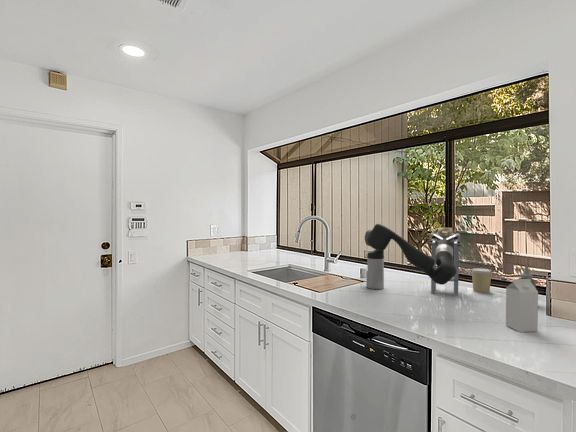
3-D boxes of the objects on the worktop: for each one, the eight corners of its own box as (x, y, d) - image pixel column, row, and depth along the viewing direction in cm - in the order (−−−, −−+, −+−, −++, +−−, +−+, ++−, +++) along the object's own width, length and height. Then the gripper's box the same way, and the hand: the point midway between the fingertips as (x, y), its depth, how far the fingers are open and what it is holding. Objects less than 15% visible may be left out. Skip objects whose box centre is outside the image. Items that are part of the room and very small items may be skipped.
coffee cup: (485, 289, 182) (486, 268, 182) (494, 293, 173) (495, 271, 173) (468, 289, 183) (468, 268, 183) (476, 293, 174) (476, 271, 174)
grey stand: (430, 293, 175) (430, 234, 174) (431, 289, 184) (431, 232, 183) (459, 296, 169) (459, 234, 168) (458, 291, 178) (459, 233, 177)
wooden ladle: (437, 235, 165) (437, 229, 164) (438, 232, 182) (438, 227, 181) (452, 236, 161) (452, 230, 161) (452, 233, 178) (452, 227, 178)
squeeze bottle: (532, 302, 157) (533, 265, 156) (539, 307, 149) (540, 268, 149) (513, 301, 160) (513, 264, 159) (518, 306, 152) (519, 267, 152)
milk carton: (505, 325, 127) (506, 277, 127) (522, 324, 128) (523, 277, 127) (519, 332, 120) (520, 281, 120) (537, 331, 121) (538, 281, 120)
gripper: (428, 256, 160) (430, 237, 172) (461, 258, 154) (460, 238, 166) (427, 243, 157) (429, 225, 169) (461, 245, 150) (460, 226, 163)
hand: (444, 231), depth 167 cm, fingers open, 8 cm apart
